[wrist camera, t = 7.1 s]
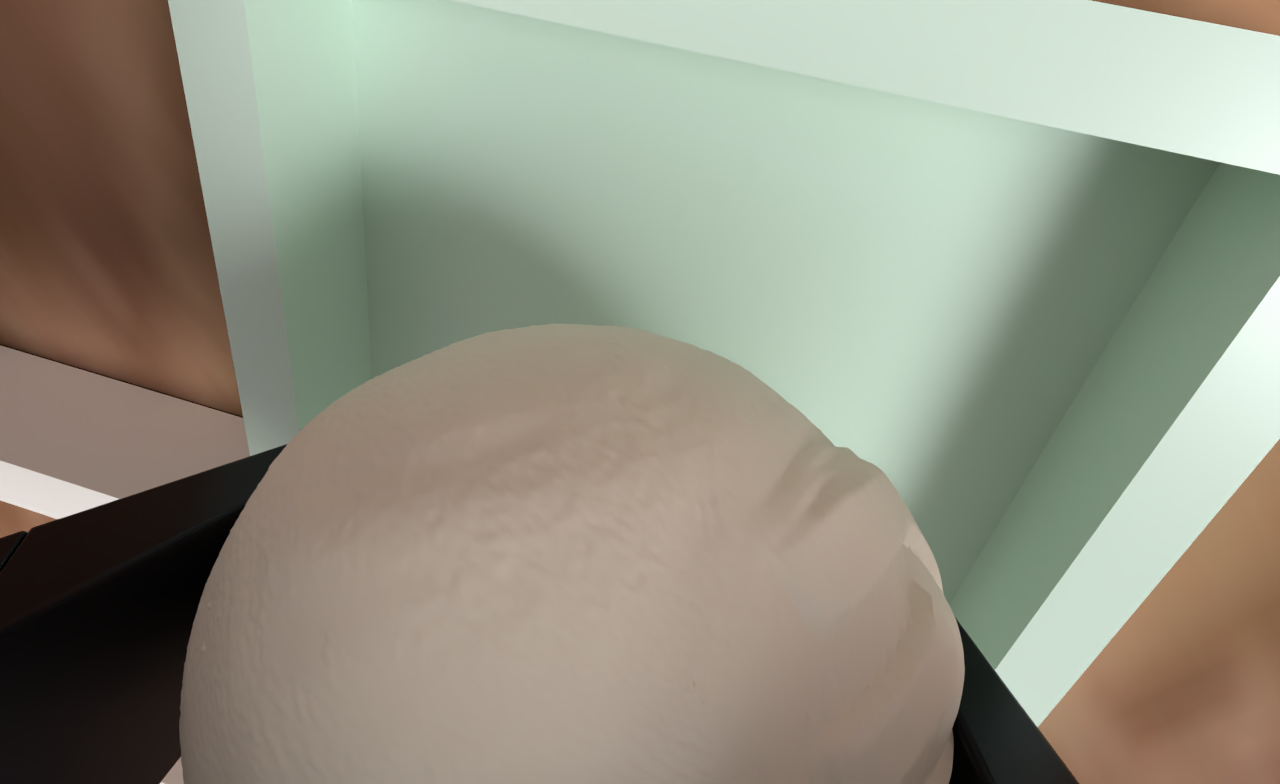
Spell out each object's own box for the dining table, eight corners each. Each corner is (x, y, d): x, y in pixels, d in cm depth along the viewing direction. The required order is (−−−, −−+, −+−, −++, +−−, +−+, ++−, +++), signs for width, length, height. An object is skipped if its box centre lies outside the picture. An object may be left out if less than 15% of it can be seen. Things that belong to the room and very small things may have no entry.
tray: (909, 712, 15) (926, 859, 12) (368, 541, 16) (283, 640, 14) (1329, 65, 8) (1571, 91, 5) (323, -128, 9) (135, -179, 7)
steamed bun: (917, 636, 10) (1031, 1371, 5) (500, 615, 13) (237, 1110, 7) (920, 204, 7) (1246, 823, 2) (369, 272, 10) (-290, 652, 4)
